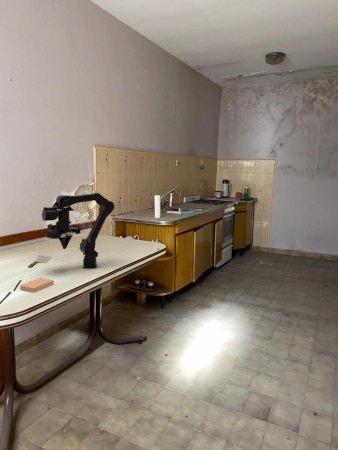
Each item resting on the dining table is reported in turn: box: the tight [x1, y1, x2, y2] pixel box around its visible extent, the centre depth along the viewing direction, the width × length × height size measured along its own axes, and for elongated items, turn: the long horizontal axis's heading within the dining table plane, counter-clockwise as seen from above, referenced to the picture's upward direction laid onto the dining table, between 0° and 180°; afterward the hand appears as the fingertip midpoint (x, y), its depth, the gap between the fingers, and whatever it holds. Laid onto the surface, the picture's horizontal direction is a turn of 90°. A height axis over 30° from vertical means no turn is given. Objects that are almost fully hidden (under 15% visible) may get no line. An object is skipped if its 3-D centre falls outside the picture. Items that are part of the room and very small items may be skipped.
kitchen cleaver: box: [27, 255, 53, 269], centre depth 189 cm, size 24×1×10 cm
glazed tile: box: [19, 277, 55, 293], centre depth 149 cm, size 2×8×12 cm
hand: (64, 248), depth 171 cm, fingers closed
